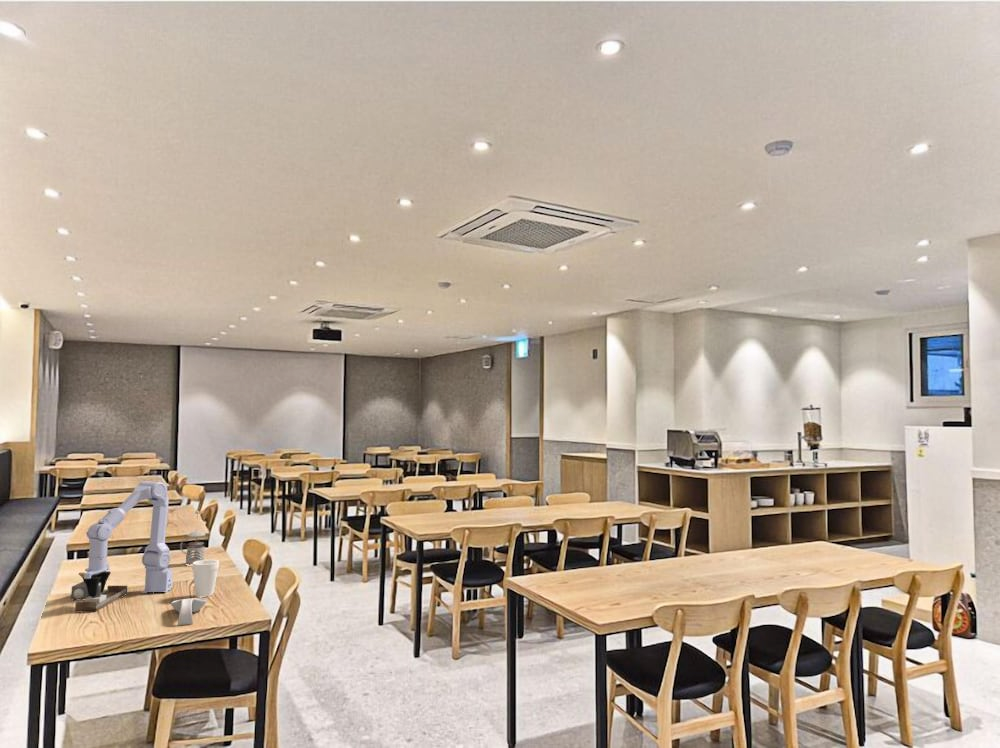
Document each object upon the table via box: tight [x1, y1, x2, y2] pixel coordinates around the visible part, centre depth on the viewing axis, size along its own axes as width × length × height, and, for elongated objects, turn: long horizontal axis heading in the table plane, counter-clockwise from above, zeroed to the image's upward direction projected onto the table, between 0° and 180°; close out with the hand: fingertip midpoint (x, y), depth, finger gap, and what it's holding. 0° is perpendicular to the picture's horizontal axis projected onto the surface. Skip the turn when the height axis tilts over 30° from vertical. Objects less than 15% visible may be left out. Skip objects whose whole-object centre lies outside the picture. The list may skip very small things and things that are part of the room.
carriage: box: [84, 582, 106, 604], centre depth 248 cm, size 5×5×7 cm
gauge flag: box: [78, 572, 85, 579], centre depth 262 cm, size 4×7×1 cm
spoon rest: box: [170, 597, 208, 626], centre depth 239 cm, size 24×12×7 cm, turn 22°
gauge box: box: [70, 581, 89, 600], centre depth 261 cm, size 6×10×5 cm, turn 5°
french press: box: [180, 510, 206, 565], centre depth 321 cm, size 10×12×25 cm
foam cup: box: [191, 559, 220, 597], centre depth 265 cm, size 10×9×13 cm
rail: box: [74, 585, 128, 613], centre depth 253 cm, size 7×24×3 cm, turn 5°
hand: (96, 594), depth 248 cm, fingers open, 5 cm apart
